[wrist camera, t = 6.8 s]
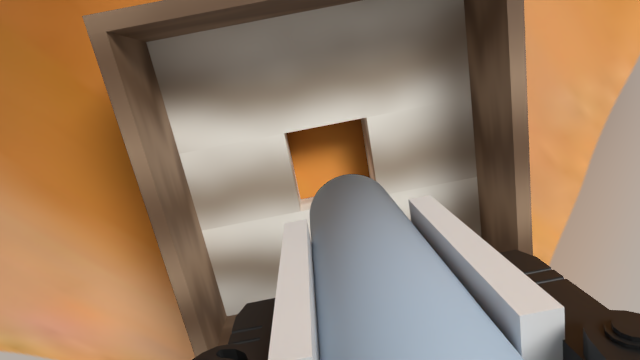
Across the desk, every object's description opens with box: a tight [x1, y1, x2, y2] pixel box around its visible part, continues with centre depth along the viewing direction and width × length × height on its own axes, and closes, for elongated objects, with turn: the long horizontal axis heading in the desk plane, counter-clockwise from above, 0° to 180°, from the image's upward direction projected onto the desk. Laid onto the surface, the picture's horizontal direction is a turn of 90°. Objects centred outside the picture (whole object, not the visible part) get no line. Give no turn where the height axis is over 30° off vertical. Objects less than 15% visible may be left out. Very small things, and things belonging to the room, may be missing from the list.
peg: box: [310, 174, 524, 360], centre depth 9 cm, size 4×4×14 cm
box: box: [82, 0, 533, 357], centre depth 22 cm, size 20×20×7 cm
